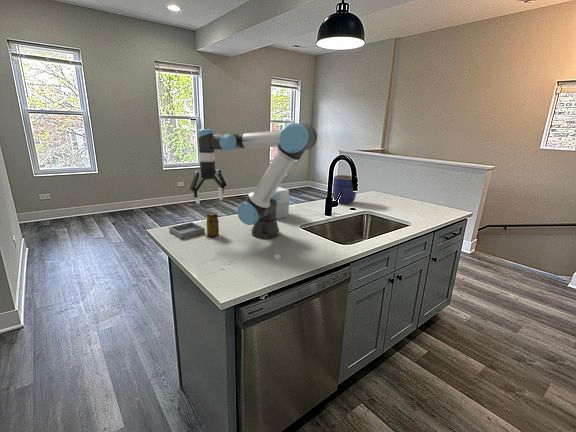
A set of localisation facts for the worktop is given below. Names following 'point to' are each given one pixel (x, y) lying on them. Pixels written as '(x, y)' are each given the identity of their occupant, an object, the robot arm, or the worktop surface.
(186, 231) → the bin
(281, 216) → the supplement box
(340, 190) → the planter
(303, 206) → the worktop surface
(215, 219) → the condiment
